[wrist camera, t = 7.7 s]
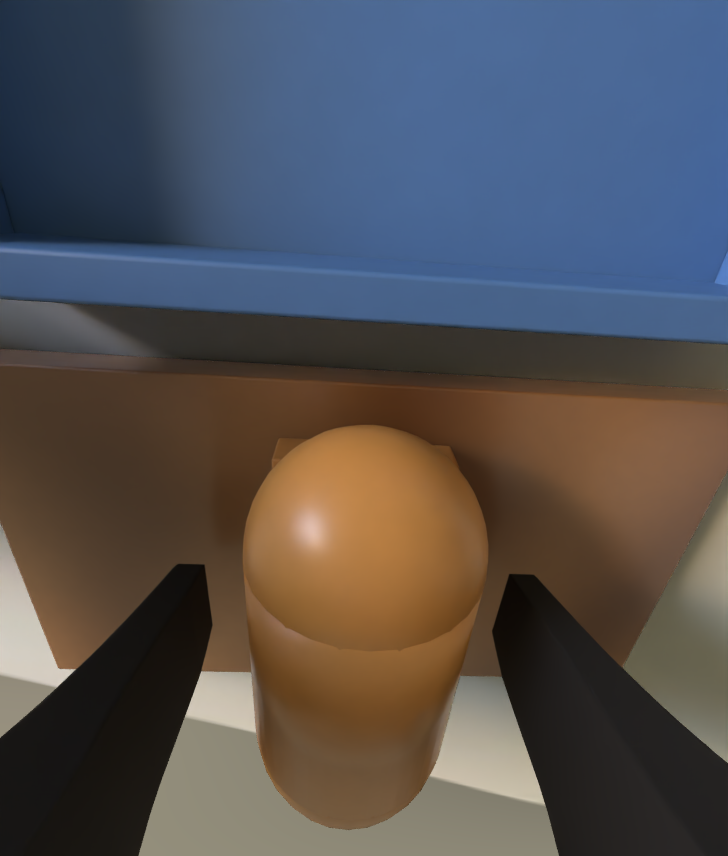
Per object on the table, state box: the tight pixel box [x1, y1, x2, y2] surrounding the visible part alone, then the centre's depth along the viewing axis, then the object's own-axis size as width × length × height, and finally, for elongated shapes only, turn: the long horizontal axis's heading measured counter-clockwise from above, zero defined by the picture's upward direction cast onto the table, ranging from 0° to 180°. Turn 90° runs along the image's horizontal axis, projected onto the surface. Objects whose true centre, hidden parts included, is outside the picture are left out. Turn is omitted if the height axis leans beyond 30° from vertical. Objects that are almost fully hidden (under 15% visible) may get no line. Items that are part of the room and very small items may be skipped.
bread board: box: [0, 349, 728, 677], centre depth 12 cm, size 18×10×1 cm, turn 86°
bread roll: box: [243, 425, 488, 830], centre depth 10 cm, size 5×10×5 cm, turn 176°
